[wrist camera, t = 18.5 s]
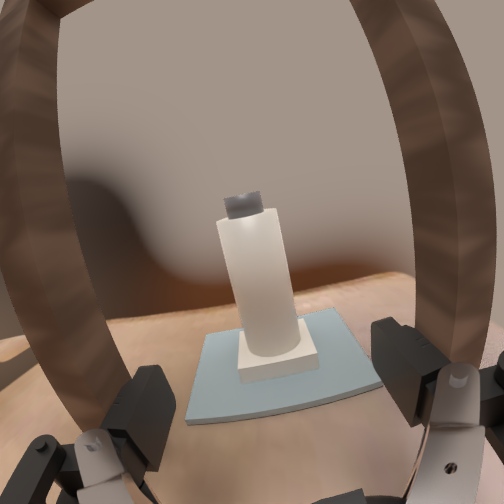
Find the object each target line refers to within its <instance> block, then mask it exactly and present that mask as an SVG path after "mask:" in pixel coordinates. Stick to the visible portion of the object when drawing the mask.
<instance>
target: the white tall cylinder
mask: <svg viewBox="0 0 504 504" xmlns="http://www.w3.org/2000/svg"><path fill="white" fill-rule="evenodd" d="M224 202H225V207H226V211H227V215H228V217H227V218H224V219H221V220H219V221H217V222H216V224H217V228H218V232H219V237H220V240H221V245H222V249H223V252H224V257H225V261H226V265H227V269H228V273H229V277H230V281H231V285H232V288H233V293H234V297H235V300H236V304H237V308H238V312H239V316H240V319H241V323H242V327H243V331H240V333H239V352H238V372H239V375H240V378H241V381H242V384H245V383H251V382H257V381H262V380H268V379H273V378H278V377H283V376H288V375H292V374H297V373H301V372H306V371H310V370H314V369H318V368H319V361H318V353H317V351H316V348H315V346H314V343H313V341H312V338H311V336H310V333H309V331H308V328H307V326H306V323H305V321H304V319H303V318H302V319H297V314H296V308H295V302H294V297H293V291H292V286H291V280H290V275H289V270H288V265H287V260H286V255H285V249H284V244H283V239H282V234H281V229H280V224H279V219H278V215H277V210H276V208H271V209H263V205H262V200H261V195H260V192H259V191H256V192H251V193H246V194H241V195H237V196H233V197H229V198H225V199H224Z"/></svg>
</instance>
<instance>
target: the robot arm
mask: <svg viewBox="0 0 504 504" xmlns="http://www.w3.org/2000/svg"><path fill="white" fill-rule="evenodd" d="M371 358H372V363H373V367H374V369H375V371H376V373H377V374H378V376H379V377H380V379H381V381H382V382H383V384H384V385H385V387H386V388H387V390H388V391H389V393H390V395H391V396H392V398H393V399H394V401H395V403H396V404H397V406H398V407H399V409H400V411H401V412H402V414H403V415H404V417H405V419H406V420H407V422H408V423H409V425H410V427H411V428H412V427H414V426H416V425H418V424H421V423H422V424H423V426H424V427H425V429H424V432H423V436H422V440H421V443H420V447H419V450H418V454H417V457H416V460H415V463H414V466H413V469H412V472H411V475H410V478H409V480H408V483H407V485H406V488H405V490H404V492H403V495H402V497H401V498H400V497H394V496H382V495H379V496H364V493H363V490H362V488H361V489H358V490H355V491H351V492H348V493H345V494H341V495H337V496H333V497H329V498H325V499H321V500H319V501H317V502H314V503H312V504H474V503H475V498H476V494H477V489H478V484H479V479H480V473H481V466H482V459H483V450H484V440H485V437H486V438H487V440H488V441H489V443H490V444H491V446H492V447H493V449H494V450H495V452H496V454H497V455H498V457H499V458H500V460H501V461H502V463H503V465H504V351H503V352H502V353H501V354H500V356H499V359H498V362H497V365H495V366H491V367H488V368H484V369H480V370H477V369H476V368H475V367H474V366H473V365H471V364H469V363H465V362H454V363H452V362H451V361H450V360H449V359H448V358H447V357H446V356H445V355H444V354H443V353H442V352H441V351H440V350H439V349H438V348H436V347H435V346H434V345H433V344H431V342H430V341H429V340H428V339H427V338H425V337H424V335H423V334H422V333H420V332H419V331H418V330H417V329H415V328H412V327H410V326H407V325H404V326H401V325H400V324H398V323H397V322H396V321H395V320H394V319H393V318H392V317H388V318H384V319H381V320H378V321H375V322H372V324H371ZM175 410H176V400H175V396H174V394H173V392H172V389H171V387H170V385H169V383H168V381H167V379H166V377H165V375H164V372H163V370H162V368H161V367H160V366H159V365H149V366H140V367H139V368H138V370H137V372H136V373H135V375H134V377H133V379H130V380H129V381H128V382H127V383H126V384H124V385H123V386H122V387H121V389H120V391H119V393H118V394H117V398H115V400H114V401H113V405H111V407H110V409H109V411H108V412H107V414H106V416H105V418H104V420H103V421H102V423H101V425H100V427H99V429H98V428H97V429H91V430H88V431H86V432H84V433H82V434H81V435H80V436H79V437H78V438H77V440H76V442H75V444H67V445H60V444H59V442H58V441H57V440H56V439H55V437H53V436H52V435H41V436H39V437H37V438H36V439H34V440H33V441H32V442H31V444H30V445H29V447H28V448H27V450H26V452H25V453H24V455H23V457H22V458H21V460H20V462H19V464H18V465H17V467H16V469H15V470H14V472H13V474H12V476H11V478H10V479H9V481H8V483H7V485H6V487H5V489H4V490H3V492H2V494H1V496H0V504H46V497H47V495H48V492H49V490H50V488H51V486H52V483H53V481H54V482H55V483H56V484H57V485H58V486H60V487H61V488H62V490H61V492H60V495H59V497H58V499H57V502H56V504H161V502H160V501H159V499H158V498H157V496H156V494H155V493H154V491H153V489H152V488H151V486H150V484H149V483H148V481H147V480H146V478H145V477H144V475H145V472H146V471H152V472H158V470H159V466H160V463H161V459H162V455H163V452H164V448H165V445H166V441H167V437H168V434H169V430H170V427H171V423H172V420H173V416H174V413H175Z"/></svg>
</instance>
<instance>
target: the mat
mask: <svg viewBox="0 0 504 504" xmlns="http://www.w3.org/2000/svg"><path fill="white" fill-rule="evenodd" d="M302 318H303V319H304V321H305V323H306V326H307V328H308V331H309V333H310V336H311V338H312V341H313V343H314V346H315V348H316V351H317V353H318V361H319V368H318V369H314V370H310V371H306V372H301V373H297V374H292V375H288V376H283V377H278V378H273V379H268V380H262V381H257V382H251V383H245V384H242V381H241V378H240V375H239V372H238V352H239V333H240V331H243V328H239V329H233V330H228V331H222V332H216V333H211V334H206V338H205V342H204V345H203V349H202V353H201V357H200V361H199V365H198V369H197V372H196V376H195V380H194V384H193V388H192V392H191V396H190V400H189V404H188V408H187V412H186V417H185V421H186V423H187V425H197V424H210V423H221V422H230V421H238V420H246V419H253V418H259V417H265V416H271V415H277V414H282V413H287V412H292V411H297V410H301V409H306V408H310V407H314V406H318V405H322V404H326V403H330V402H334V401H337V400H341V399H344V398H348V397H351V396H354V395H357V394H361V393H364V392H367V391H370V390H373V389H376V388H378V387H381V386H383V382H382V381H381V379H380V377H379V376H378V374H377V373H376V371H375V369H374V367H373V364H372V362H371V361H370V359H369V358H368V356H367V355H366V353H365V352H364V350H363V349H362V347H361V346H360V344H359V343H358V341H357V340H356V338H355V337H354V335H353V334H352V332H351V331H350V330H349V328H348V327H347V325H346V324H345V322H344V321H343V319H342V318H341V316H340V315H339V314H338V312H337V311H336V309H335V308H334V307H333V308H329V309H325V310H321V311H317V312H313V313H309V314H305V315H300V316H297V319H302Z"/></svg>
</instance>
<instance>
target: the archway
mask: <svg viewBox="0 0 504 504" xmlns="http://www.w3.org/2000/svg"><path fill="white" fill-rule="evenodd" d="M92 1H94V0H5V2H4V5H3V8H2V11H1V14H0V268H1V271H2V274H3V278H4V281H5V284H6V287H7V290H8V293H9V296H10V299H11V301H12V304H13V307H14V309H15V312H16V314H17V317H18V319H19V322H20V324H21V326H22V329H23V331H24V333H25V336H26V338H27V340H28V342H29V344H30V346H31V348H32V350H33V352H34V354H35V356H36V358H37V360H38V362H39V364H40V366H41V368H42V370H43V371H44V373H45V375H46V377H47V379H48V380H49V382H50V384H51V385H52V387H53V389H54V390H55V392H56V394H57V395H58V397H59V398H60V400H61V402H62V403H63V405H64V406H65V408H66V409H67V411H68V412H69V414H70V415H71V416H72V418H73V419H74V421H75V422H76V424H77V425H78V426H79V428H80V429H81V430H82V432H83V433H84V432H86V431H88V430H91V429H97V428H98V429H99V427H100V425H101V423H102V421H103V420H104V418H105V416H106V414H107V412H108V411H109V409H110V407H111V405H113V401H114V400H115V398H117V394H118V393H119V391H120V389H121V387H122V386H123V385H124V384H126V383H127V382H128V381H129V380H130V379H132V378H131V376H130V374H129V372H128V370H127V368H126V366H125V364H124V362H123V360H122V358H121V356H120V354H119V351H118V349H117V347H116V345H115V343H114V340H113V338H112V336H111V333H110V331H109V329H108V326H107V324H106V321H105V319H104V316H103V314H102V311H101V309H100V306H99V303H98V300H97V298H96V295H95V292H94V289H93V286H92V284H91V281H90V278H89V274H88V271H87V268H86V265H85V262H84V258H83V255H82V252H81V248H80V245H79V241H78V237H77V233H76V229H75V225H74V221H73V217H72V212H71V207H70V203H69V198H68V193H67V187H66V182H65V176H64V169H63V163H62V155H61V147H60V138H59V127H58V113H57V52H58V38H59V28H60V19H61V18H63V17H64V16H66V15H68V14H69V13H71V12H73V11H75V10H76V9H78V8H80V7H82V6H84V5H85V4H87V3H89V2H92ZM350 2H351V4H352V6H353V8H354V10H355V13H356V14H357V17H358V19H359V21H360V23H361V25H362V28H363V30H364V32H365V35H366V37H367V39H368V42H369V44H370V47H371V49H372V52H373V54H374V57H375V59H376V62H377V65H378V68H379V71H380V74H381V77H382V80H383V83H384V86H385V89H386V93H387V96H388V99H389V102H390V106H391V110H392V113H393V117H394V121H395V125H396V129H397V133H398V138H399V142H400V146H401V151H402V156H403V161H404V167H405V172H406V178H407V184H408V191H409V198H410V206H411V214H412V224H413V233H414V234H413V235H414V249H415V270H416V312H415V329H417V330H418V331H419V332H420V333H422V334H423V335H424V337H425V338H427V339H428V340H429V341H430V342H431V344H433V345H434V346H435V347H436V348H438V349H439V350H440V351H441V352H442V353H443V354H444V355H445V356H446V357H447V358H448V359H449V360H450V361H451V362H452V363H454V362H465V363H469V364H471V365H473V366H474V367H475V368H476V369H477V370H479V367H480V363H481V359H482V355H483V351H484V346H485V342H486V337H487V332H488V327H489V321H490V314H491V308H492V300H493V292H494V282H495V269H496V206H495V195H494V183H493V175H492V168H491V161H490V154H489V149H488V143H487V138H486V133H485V129H484V125H483V121H482V117H481V112H480V109H479V105H478V102H477V99H476V95H475V92H474V89H473V86H472V82H471V80H470V77H469V74H468V71H467V68H466V66H465V63H464V61H463V58H462V56H461V53H460V51H459V48H458V46H457V44H456V42H455V39H454V37H453V35H452V33H451V31H450V29H449V27H448V25H447V23H446V21H445V19H444V17H443V15H442V13H441V11H440V10H439V8H438V6H437V4H436V2H435V1H434V0H350Z"/></svg>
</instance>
